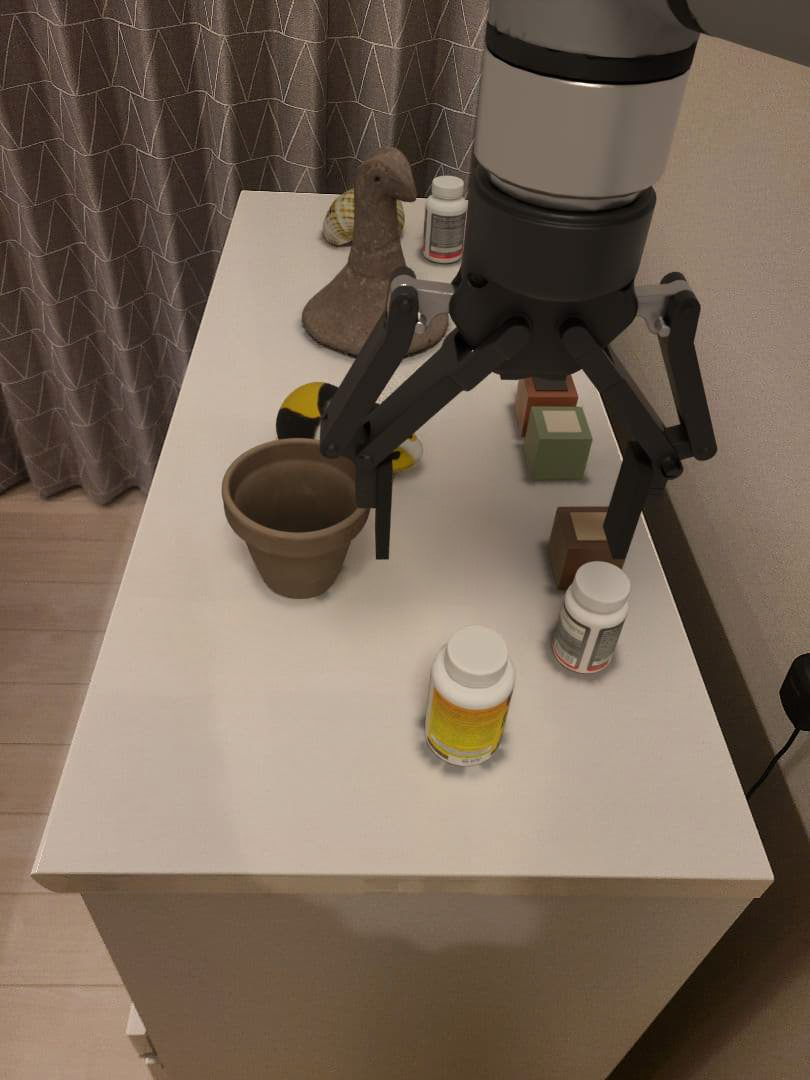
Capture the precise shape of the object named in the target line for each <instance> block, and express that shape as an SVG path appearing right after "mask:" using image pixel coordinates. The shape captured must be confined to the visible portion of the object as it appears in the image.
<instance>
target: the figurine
mask: <svg viewBox="0 0 810 1080" xmlns="http://www.w3.org/2000/svg"><path fill="white" fill-rule="evenodd" d="M338 388H339V386H336V385H334V384H331V383H329V382H324V381H313V382H308V383H305V384H302V385H299V386H298V387H297V388H295V389H294V390H292V391H291V392H290V393H289V394H288V395H287V396H286V397H285V398H284V400H283V402H282V403H281V405H280V407H279V409H278V411H277V415H276V419H275V432H276V433H275V434H276V436H277V440H280V439H288V438H307V439H316V440H320V421H321V417H322V415H323V413H324V411H325V410H326V408H327V406H328V405H329V403H330V401H331V400H332V398H333V396H334V394H335V393H336V391H337V389H338ZM380 404H381V403H378V402H375V404H374V406H373V407H372V409H371V410H370V412H369V413H368V415H369V414H370V413H371V412H372V411H373V410H374V409H375V408H376V407H378V406H379V405H380ZM368 415H367V416H368ZM367 416H366V417H367ZM423 455H424V445H423V442H422V441H421V440H420V438H419V437H418V436H417V435H416V434H415V433H414V434H412V435H411V436H410V437H409V438H408V439H407V440H406V441H404V442H403V443H402V444H401V445H400V446H399V447H398V448H396V449H395V450H394V451H393V452H392V464H393V474H394V473H400V472H403V471H406V470H409V469H412V468H415V466H416V465H417V464H418V463H419V462H420V461H421V458H422V457H423Z"/></svg>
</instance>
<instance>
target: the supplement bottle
mask: <svg viewBox="0 0 810 1080" xmlns="http://www.w3.org/2000/svg"><path fill="white" fill-rule="evenodd" d="M432 660H433V661H432V663H431V668H430V677H429V684H428V692H427V693H428V694H427V699H426V711H425V721H424V734H425V739H426V741H427V744H428V746H429V747H430V749H431V750H432V752H433V753H434V754H436V756H437V757H438V758H440V759H441V760H442V761H445V762H447V763H448V764H451V765H454V766H460V767H471V766H476V765H479V764H481V763H484V762H486V761H487V760H489V759H491V758H492V757H493V756H494V755H495V754H496V752H497V750H498V749H499V747H500V744H501V742H502V739H503V734H504V730H505V726H506V722H507V718H508V713H509V709H510V706H511V700H512V697H513V693H514V688H515V684H516V677H517V676H516V675H517V673H516V668H515V667H516V666H515V665H514V661H513V660H512V658H511V656H510V655H509V646H508V643H507V641H506V639H505V638H504V637H503V636H502V635H501V634H500V633H499V631H496V630H495V629H493V628H491V627H488V626H487V625H481V624H470V625H469V624H468V625H465V626H462V627H459V628H458V629H456V630H455V631H454V632H453V633H452V634H451V635H450V637H449V638H448V640H447V643H445V644H444V645H442V647H441V648H440V649H439V650H438V651H437V652H436V653H435V655H434V658H433V659H432Z"/></svg>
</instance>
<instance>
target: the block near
mask: <svg viewBox="0 0 810 1080" xmlns="http://www.w3.org/2000/svg"><path fill="white" fill-rule="evenodd" d="M608 507H609V505H608V506H607V505H605V506H602V505H599V506H596V505H595V506H591V505H589V506H585V505H583V506H556V510H555V515H554V518H553V523H552V526H551V531H550V534H549V535H550V536H549V540H548V544H547V552H548V555H549V560H550V565H551V568H552V572H553V576H554V580H555V585H556V589H557V591H564V590H565V591H567V589H568V588H569V586H570V585H571V584H572V583H573V581H574V578H575V575H576V572H577V571H578V569H579V568H580V567H581V566H582V565H584V564H586V563H589V562H594V561H601V562H607V563H610V564H613V565H615V566H617V567H618V568H620V569H621V570H622V571H623V568H624V565H625V562H626V559H612V556H611V552H610V549H609V546H608V542H607V539H606V536H605V532H604V529H603V524H604V520H605V517H606V514H607V510H608Z"/></svg>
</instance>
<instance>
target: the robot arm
mask: <svg viewBox="0 0 810 1080" xmlns="http://www.w3.org/2000/svg"><path fill="white" fill-rule="evenodd" d="M485 25H486V27H485V28H486V29H485V34H484V35H485V36H484V41H485V42H484V50H483V61H482V70H481V77H480V88H479V97H478V105H477V114H476V124H475V131H474V142H473V154H474V157H475V158H476V160H477V162H478V163H479V164H478V165H476V166H475V168H474V169H473V170H472V172H471V174H470V179H469V187H468V196H467V197H468V198H467V213H466V221H465V232H464V242H463V251H462V257H461V263H460V266H459V269H458V271H457V273H456V275H455V276H454V278H453V279H452V280H451V282H450V283H449V282H441V281H433V280H426V279H418V278H417V275H416V273H415V271H414V270H413V269H412V268H411V267H408V266H407V267H405V266H403V267H398V268H396V269H394V270H393V271H392V273H391V275H390V279H389V285H388V291H387V298H386V304H385V310H384V312H383V313H382V315H381V317H380V319H379V320H378V322H377V324H376V325H375V327H374V329H373V330H372V332H371V334H370V335H369V337H368V339H367V340H366V342H365V344H364V346H363V347H362V349H361V351H360V352H359V354H358V356H356V357H355V358H354V361H353V363H352V364H351V366H350V367H349V369H348V371H347V373H346V374H345V376H344V377H343V380H342V381H341V383H340V384H339V386H338V387H339V388H338V389H337V391H336V393H335V394H334V396H333V398H332V400H331V401H330V403H329V405H328V406H327V408H326V410H325V411H324V413H323V415H322V417H321V421H320V445H319V450H320V454H321V455H322V456H323V457H325V458H327V459H336V458H339V457H340V456H342V457H345V458H348V459H350V460H351V461H352V462H353V463H354V465H355V502H356V504H357V506H358V508H359V509H370V510H371V509H374V547H375V553H374V555H375V560H376V561H389V560H390V547H391V546H390V543H391V522H392V503H393V502H392V499H393V479H394V473H393V464H392V452H393V451H394V450H395V449H396V448H398V447H399V446H400V445H401V444H402V443H403V442H404V441H406V440H407V439H408V438H409V437H410V436H411V435H412V434H415V433H416V432H417V431H418V430H419V429H421V428H422V427H423V426H424V425H425V424H426V423H428V422H429V421H430V420H431V419H433V418H434V416H436V415H437V414H438V413H439V412H440V411H441V410H443V408H444V407H446V406H448V404H450V402H452V401H453V400H454V399H455V398H456V397H458V395H460V394H461V393H462V392H467V393H468V392H471V391H472V390H474V389H475V388H476V387H477V386H479V384H481V382H483V381H484V380H485V379H486V378H487V377H488V376H490V375H491V374H492V373H493V374H495V375H499V379H500V381H519V380H520V379H525V378H529V377H538V378H542V379H546V380H550V381H566V377H567V376H568V375H571V376H572V375H573V374H576V373H578V372H580V371H581V370H582V371H583V373H584V374H585V375H586V377H587V379H588V380H589V381H590V382H591V384H592V385H593V386H594V388H595V389H596V390H597V392H598V393H600V394H602V395H603V396H604V398H605V400H606V401H607V402H608V404H609V405H610V406H611V407H612V409H613V411H615V412H616V414H617V415H618V417H619V418H620V420H621V421H622V422H623V424H624V425H625V426H626V428H627V429H628V430H629V431H630V434H632V436H633V437H634V438H635V440H628V441H627V444H626V448H625V451H624V454H623V457H622V461H621V464H620V468H619V471H618V474H617V478H616V481H615V484H614V486H613V490H612V495H611V497H610V501H609V503H608V506H609V507H608V510H607V514H606V517H605V520H604V524H603V529H604V532H605V536H606V539H607V542H608V546H609V549H610V552H611V556H612V559H625V560H626V559H627V556H628V553H629V551H630V547H631V544H632V541H633V539H634V536H635V532H636V529H637V527H638V524H639V521H640V518H641V515H642V513H643V509H644V510H646V509H647V510H649V509H651V510H652V509H653V510H654V509H655V508H656V507H657V506H658V505H659V504H660V503H661V500H662V497H663V494H664V491H665V488H666V486H667V484H668V481H673V480H676V479H677V478H679V477H681V475H682V474H683V473H684V469H685V468H684V465H683V463H682V461H684V460H687V459H690V458H694V459H695V460H697V461H699V462H705V461H709V460H711V459H713V457H715V456H716V455H717V453H718V445H717V440H716V436H715V431H714V427H713V422H712V418H711V414H710V409H709V405H708V400H707V395H706V391H705V386H704V382H703V378H702V377H703V376H702V372H701V368H700V364H699V359H698V354H697V350H696V346H695V339H696V335H697V329H698V325H699V319H700V316H701V315H700V314H701V309H702V305H701V303H700V301H699V300H698V298H697V296H696V294H695V292H694V290H693V289H692V287H691V285H690V284H689V282H688V280H687V278H686V277H685V275H684V273H682V272H680V271H672V272H671V271H670V272H668V273H667V274H665V275H664V276H663V277H662V278H661V279H660V282H659V283H658V284H647V285H636V286H635V279H636V277H637V275H638V272H639V270H640V266H641V262H642V257H643V255H644V250H645V246H646V242H647V239H648V235H649V231H650V227H651V224H652V219H653V216H654V212H655V208H656V204H657V192H656V191H655V188H654V187H653V185H655V184H657V183H658V182H659V181H661V179H662V177H663V175H664V173H665V172H666V168H667V164H668V161H669V156H670V152H671V149H672V144H673V140H674V136H675V132H676V128H677V125H678V120H679V118H680V117H679V116H680V112H681V108H682V104H683V99H684V96H685V91H686V88H687V84H688V80H689V76H690V72H691V69H692V68H691V67H692V65H693V62H694V57H695V53H696V50H697V47H698V42H699V40H700V37H701V34H703V35H706V36H709V37H713V38H717V39H721V40H724V41H726V42H730V43H733V44H736V45H739V46H742V47H745V48H748V49H751V50H755V51H757V52H760V53H764V54H766V55H770V56H773V57H776V58H779V59H781V60H785V61H789V62H791V63H795V64H798V65H800V66H804V67H807V68H810V0H489V3H488V12H487V21H486V24H485ZM416 278H417V279H416ZM440 314H448V315H449V317H450V319H451V321H452V322H453V324H454V325H455V328H453V329H452V330H451V331H450V332H449V333H448V334H447V335H446V336H445V338H444V339H443V340H442V341H443V342H442V344H441V346H440V348H439V349H438V350H436V351H435V353H433V355H431V356H430V357H429V358H428V359H427V360H426V361H425V362H423V363H422V364H421V365H420V367H419V368H417V369H416V370H415V371H414V372H413V373H412V374H411V375H410V376H409V377H408V378H407V379H405V380H404V381H403V382H402V383H401V384H400V385H399V386H397V388H396V389H395V390H394V391H392V392H391V393H390V394H389V395H388V396H387V397H385V399H384V400H383V401H382V402H380V403H379V404H380V405H379V406H378V407H376V408H375V409H374V410H373V411H372V412H371V413H370V414H369V415H368V413H369V412H370V410H371V409H372V407H373V406H374V404H375V403H377V401H378V399H379V398H380V396H381V395H382V393H383V392H384V390H385V388H386V387H387V385H388V384H389V382H390V381H391V379H392V378H393V376H394V374H395V373H396V372H397V369H398V368H399V367H400V365H401V363H402V362H403V360H404V359H405V357H406V356H407V355H406V353H407V352H408V350H409V347H410V345H411V342H412V339H413V336H414V332H415V333H417V334H422V333H424V332H425V331H426V329H427V328H428V327H429V326H430V325H431V323H432V321H433V319H434V318H435V317H436V316H438V315H440ZM636 317H640V318H642V319H643V321H644V323H645V326H646V328H647V330H648V331H649V333H651V334H652V335H655V336H656V337H657V340H658V344H659V348H660V352H661V355H662V360H663V363H664V367H665V372H666V375H667V379H668V383H669V387H670V391H671V394H672V398H673V402H674V407H675V410H676V414H677V418H678V422H679V424H674V425H671V426H666V424H665V423H664V421H663V420H662V419H661V417H660V416H659V414H658V413H657V412H656V410H655V408H654V407H653V406H652V405H651V403H650V401H649V400H648V399H647V397H646V396H645V395H644V393H643V391H642V390H641V389H640V387H639V385H638V384H637V383H636V382H635V380H634V378H633V377H632V376H631V374H630V372H629V371H628V370H627V368H626V367H625V365H624V364H623V363H622V361H621V360H620V358H619V356H618V355H617V354H616V353H615V351H614V349H613V348H612V346H611V345H610V344H611V343H613V341H614V340H615V339H616V338H618V337H619V336H620V335H621V334H622V333H623V332H624V331H625V330H626V329H627V328H628V327H629V326H630V325H632V323H633V322H634V320H635V319H636ZM367 415H368V416H367ZM366 416H367V417H366Z"/></svg>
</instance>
